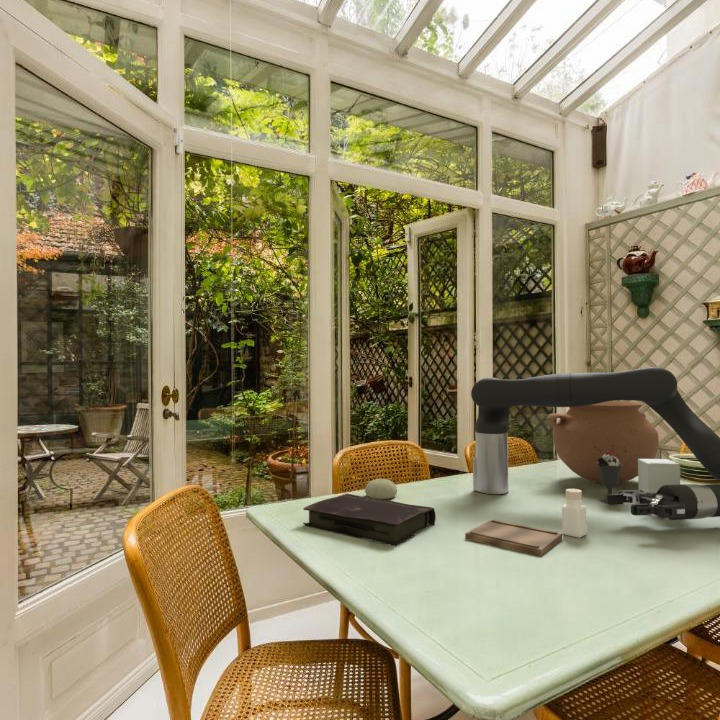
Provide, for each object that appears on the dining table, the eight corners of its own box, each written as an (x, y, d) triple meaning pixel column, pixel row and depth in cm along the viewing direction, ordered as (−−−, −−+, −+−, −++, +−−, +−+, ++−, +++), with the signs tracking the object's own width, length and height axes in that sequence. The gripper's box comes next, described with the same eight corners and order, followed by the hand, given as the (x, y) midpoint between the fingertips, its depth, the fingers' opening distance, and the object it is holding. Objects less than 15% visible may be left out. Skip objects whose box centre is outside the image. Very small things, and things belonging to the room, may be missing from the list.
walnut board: (465, 538, 107) (465, 531, 107) (490, 525, 116) (490, 518, 116) (541, 556, 96) (541, 548, 96) (562, 539, 106) (561, 532, 106)
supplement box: (682, 516, 121) (680, 463, 122) (648, 515, 123) (647, 463, 123) (669, 508, 129) (668, 458, 129) (638, 507, 130) (637, 457, 130)
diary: (348, 511, 131) (348, 491, 132) (435, 527, 117) (435, 505, 117) (300, 528, 116) (300, 506, 116) (394, 550, 102) (394, 524, 102)
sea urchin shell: (403, 487, 146) (396, 471, 141) (396, 511, 141) (388, 495, 136) (374, 484, 150) (366, 468, 145) (366, 507, 145) (358, 492, 140)
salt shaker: (569, 530, 112) (568, 487, 112) (587, 534, 109) (586, 490, 109) (561, 534, 109) (560, 490, 109) (580, 539, 106) (579, 493, 106)
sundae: (621, 499, 138) (620, 444, 138) (625, 505, 131) (624, 447, 132) (595, 497, 140) (594, 443, 140) (598, 503, 134) (596, 446, 134)
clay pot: (589, 498, 139) (587, 407, 140) (528, 476, 168) (527, 401, 169) (691, 490, 147) (689, 404, 148) (616, 471, 176) (615, 399, 177)
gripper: (662, 477, 120) (599, 480, 117) (712, 492, 105) (640, 495, 103) (663, 509, 119) (599, 512, 117) (713, 528, 105) (641, 532, 103)
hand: (618, 504), depth 110 cm, fingers open, 8 cm apart
